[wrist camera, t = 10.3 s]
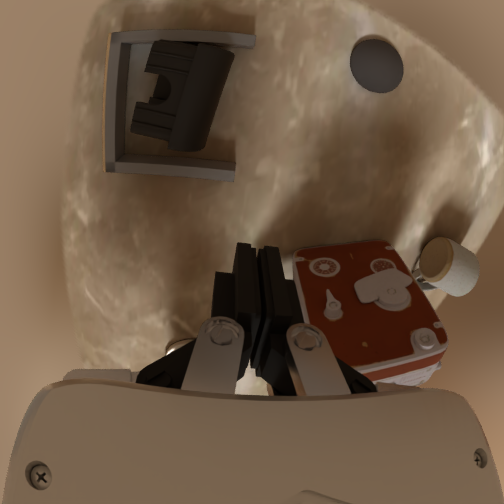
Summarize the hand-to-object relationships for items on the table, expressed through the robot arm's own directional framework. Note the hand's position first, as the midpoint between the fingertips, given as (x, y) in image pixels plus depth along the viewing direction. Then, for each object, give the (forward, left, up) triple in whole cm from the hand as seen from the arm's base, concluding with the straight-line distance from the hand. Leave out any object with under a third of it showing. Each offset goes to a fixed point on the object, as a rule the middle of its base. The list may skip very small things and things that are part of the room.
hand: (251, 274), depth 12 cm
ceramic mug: (-12, -32, -23) cm, 41 cm away
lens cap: (+12, -13, -23) cm, 29 cm away
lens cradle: (+4, +7, -23) cm, 24 cm away
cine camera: (-15, -13, -23) cm, 30 cm away
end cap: (+5, +7, -23) cm, 24 cm away
